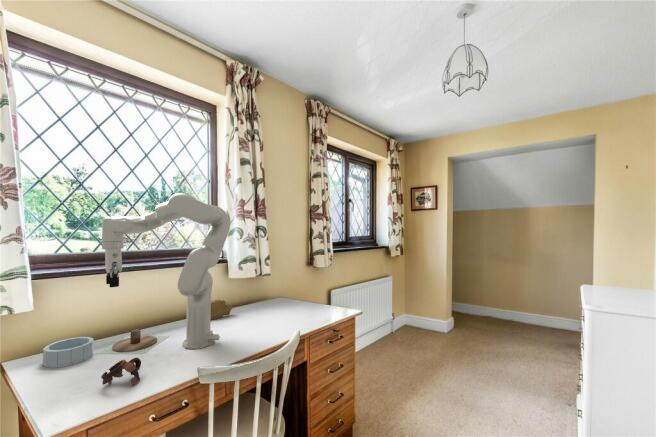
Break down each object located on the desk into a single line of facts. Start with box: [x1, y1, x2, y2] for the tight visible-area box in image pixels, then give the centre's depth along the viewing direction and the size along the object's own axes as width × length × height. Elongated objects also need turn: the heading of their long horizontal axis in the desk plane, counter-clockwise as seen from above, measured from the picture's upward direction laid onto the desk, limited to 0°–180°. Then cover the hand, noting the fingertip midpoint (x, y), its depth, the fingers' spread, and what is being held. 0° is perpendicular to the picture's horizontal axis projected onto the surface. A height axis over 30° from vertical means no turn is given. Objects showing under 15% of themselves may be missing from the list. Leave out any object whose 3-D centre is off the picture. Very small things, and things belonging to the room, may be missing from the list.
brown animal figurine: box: [100, 357, 142, 387], centre depth 97 cm, size 12×10×8 cm
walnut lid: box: [112, 328, 157, 352], centre depth 127 cm, size 16×16×6 cm
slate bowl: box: [42, 336, 95, 369], centre depth 113 cm, size 14×14×6 cm
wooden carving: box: [211, 299, 233, 320], centre depth 165 cm, size 16×5×10 cm, turn 133°
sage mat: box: [95, 335, 170, 355], centre depth 127 cm, size 19×19×1 cm
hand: (112, 285), depth 129 cm, fingers open, 9 cm apart
